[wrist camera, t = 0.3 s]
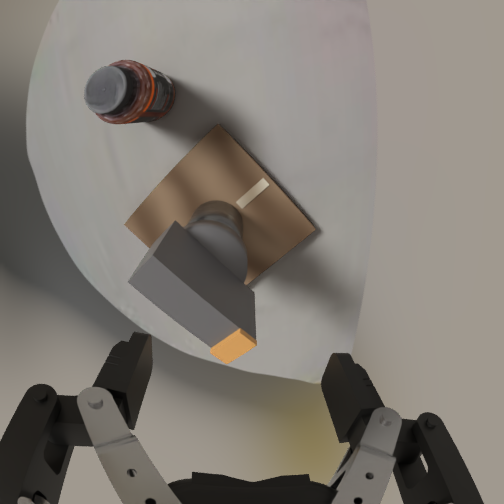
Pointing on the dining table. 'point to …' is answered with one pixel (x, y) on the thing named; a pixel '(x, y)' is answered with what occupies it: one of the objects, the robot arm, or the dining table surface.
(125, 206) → the dining table surface
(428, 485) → the robot arm
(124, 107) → the supplement bottle
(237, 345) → the wing cap
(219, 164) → the base
